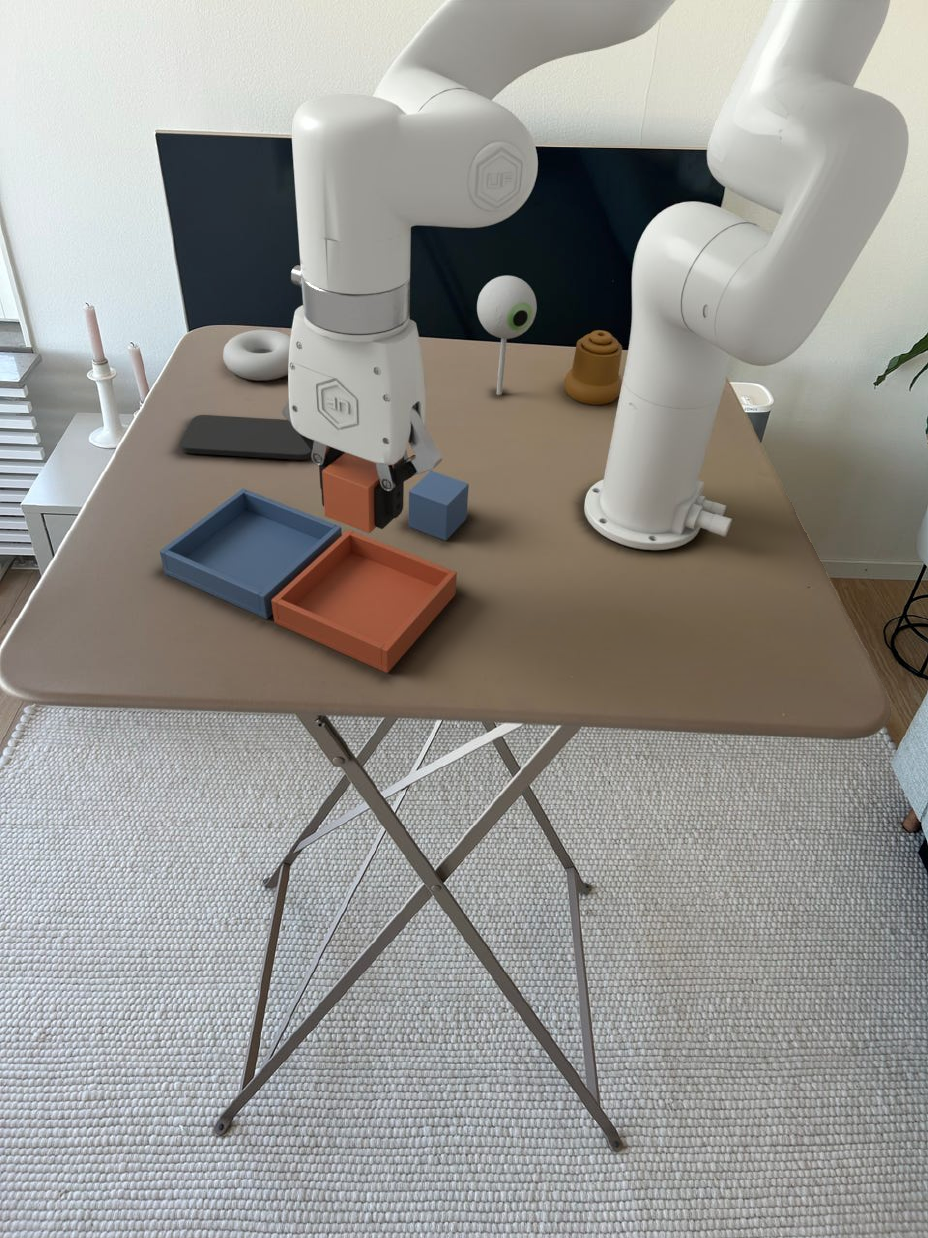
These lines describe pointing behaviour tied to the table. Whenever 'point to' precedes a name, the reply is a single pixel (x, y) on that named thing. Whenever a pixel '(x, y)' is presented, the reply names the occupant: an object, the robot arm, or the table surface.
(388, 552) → the terracotta bin
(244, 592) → the slate bin
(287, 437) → the phone
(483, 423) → the table surface
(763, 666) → the table surface
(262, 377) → the donut
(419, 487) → the slate block
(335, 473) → the terracotta block
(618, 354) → the ornamental finial
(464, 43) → the robot arm
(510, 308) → the lollipop
